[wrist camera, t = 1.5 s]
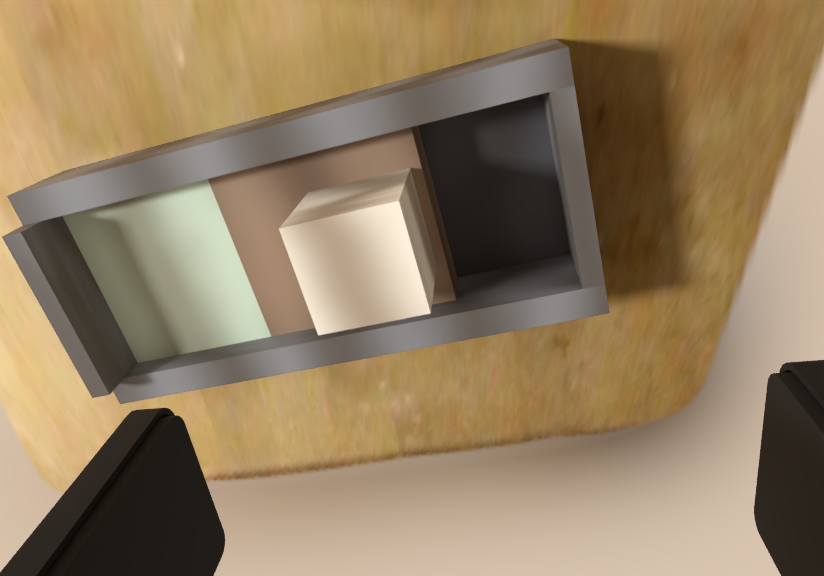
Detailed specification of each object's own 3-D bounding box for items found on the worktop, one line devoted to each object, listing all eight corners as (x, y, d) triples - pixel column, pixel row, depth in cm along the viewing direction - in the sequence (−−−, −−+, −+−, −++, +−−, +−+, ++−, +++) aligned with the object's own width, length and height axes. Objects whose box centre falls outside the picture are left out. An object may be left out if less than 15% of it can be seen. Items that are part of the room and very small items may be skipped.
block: (410, 167, 29) (398, 200, 24) (436, 266, 31) (430, 313, 26) (308, 192, 30) (278, 228, 25) (340, 286, 32) (318, 335, 27)
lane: (555, 38, 29) (574, 50, 23) (592, 273, 33) (616, 328, 28) (63, 171, 33) (-16, 206, 28) (157, 360, 38) (105, 421, 33)
